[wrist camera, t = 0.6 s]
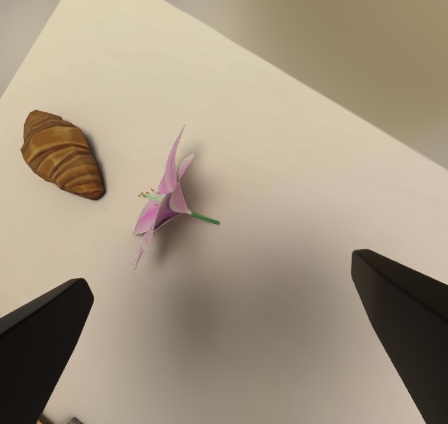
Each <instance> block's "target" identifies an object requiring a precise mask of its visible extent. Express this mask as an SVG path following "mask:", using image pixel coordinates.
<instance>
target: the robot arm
mask: <svg viewBox="0 0 448 424" xmlns="http://www.w3.org/2000/svg"><path fill="white" fill-rule="evenodd" d="M351 276H352V279H353V282H354V284H355V287H356V289H357V291H358V294H359V296H360V299H361V301H362V303H363V306H364V308H365V311H366V313H367V315H368V318H369V320H370V322H371V324H372V327H373V328H374V330H375V332H376V334H377V336H378V338H379V340H380V341H381V343H382V345H383V347H384V349H385V350H386V352H387V354H388V356H389V358H390V359H391V361H392V363H393V365H394V367H395V368H396V370H397V372H398V374H399V376H400V377H401V379H402V381H403V383H404V385H405V386H406V388H407V390H408V392H409V394H410V395H411V397H412V399H413V401H414V403H415V404H416V406H417V408H418V410H419V412H420V413H421V415H422V417H423V419H424V421H425V422H426V424H448V285H446V284H444V283H442V282H440V281H438V280H435V279H433V278H431V277H429V276H426V275H424V274H422V273H420V272H418V271H415V270H413V269H411V268H409V267H407V266H404V265H402V264H400V263H398V262H396V261H393V260H391V259H389V258H387V257H385V256H382V255H380V254H378V253H376V252H373V251H371V250H369V249H360V250H354V251H353V253H352V263H351ZM93 302H94V296H93V293H92V291H91V289H90V287H89V285H88V283H87V281H86V280H85V279H84V278H76V279H71V280H69V281H67V282H65V283H63V284H61V285H60V286H58V287H56V288H54V289H52V290H51V291H49V292H47V293H45V294H43V295H41V296H40V297H38V298H36V299H34V300H32V301H31V302H29V303H27V304H25V305H23V306H22V307H20V308H18V309H16V310H14V311H13V312H11V313H9V314H7V315H5V316H4V317H2V318H0V424H37V422H38V420H39V418H40V416H41V414H42V412H43V410H44V408H45V406H46V404H47V402H48V400H49V398H50V396H51V394H52V392H53V390H54V388H55V386H56V384H57V382H58V380H59V378H60V376H61V375H62V373H63V371H64V369H65V367H66V365H67V363H68V361H69V359H70V357H71V355H72V353H73V351H74V349H75V346H76V344H77V342H78V340H79V337H80V335H81V332H82V330H83V327H84V325H85V322H86V320H87V317H88V315H89V312H90V310H91V307H92V305H93Z"/></svg>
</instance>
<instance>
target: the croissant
mask: <svg viewBox="0 0 448 424" xmlns="http://www.w3.org/2000/svg"><path fill="white" fill-rule="evenodd" d="M23 137H24V144H23V146H22V148H21V152H22V155H23V158H24V160H25V162H26V163H27V164H28V166H29V167H30V168H31V169H32V171H33V172H34V173H36V174H37V175H38V176H40V177H41V178H43V179H44V180H45V181H47V182H51V183H55V184H56V185H57V186H58V187H59V188H60V189H61V190H64V191H67V192H70V193H73V194H76V195H78V196H82V197H85V198H88V199H91V200H97V199H98V198H100V197H102V195H103V194H104V192H105V189H104V184H103V180H102V177H101V174H100V171H99V168H98V165H97V163H96V161H95V159H94V157H93V156H92V155H91V153H90V150H89V147H88V144H87V142H86V140H85V137H84V135H83V133H82V131H81V129H79V128H78V127H76V126H75V125H73V124H72V123H69V122H65V121H63V119H62V118H61V117H60V116H57V115H53V114H50V113H46V112H42V111H38V110H34V111H32V112H30V114H29V115H28V117H27V119H26V121H25V124H24V136H23Z"/></svg>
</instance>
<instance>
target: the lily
mask: <svg viewBox="0 0 448 424" xmlns="http://www.w3.org/2000/svg"><path fill="white" fill-rule="evenodd" d="M184 126H185V125H184ZM184 126H183V128H182V130H181V131H180V133H179V135H178V137H177V139H176V141H175V142H174V145H173V147H172V149H171V151H170V153H169V157H168V160H167V163H166V170H165V173H164V176H163V177H162V179H161V182H160V184H159V187H158V190H157V194H156V193H155V194H156V196H153V195H151V194H150V193H148V192H146V193H147V194H149V195H151V196H149V195H146V194H143V193H141V195H143V196H144V195H145V196H144V198H147V196H148V199H150V198H151V199H150V200H149V201H148V202H147V203H146V205H145V206H144V208H143V210H142V212H141V214H140V216H139V218H138V221H137V223H136V226H135V229H134V232H133V234H141V233H144V232H146V233H145V235H144V236H143V239H142V241H141V244H140V247H139V250H138V253H137V257H136V260H135V264H134V269H133V273H134V271H135V268H136V266H137V263H138V261H139V259H140V257H141V254H142V252H143V251H144V252H147V251H148V250H149V247H150V243H151V239H152V235H153V234H154V233H155V232H156V231H157V230H158V229H159V228H160V227H161V226H163V225H164V224H166V223H167V222H169V221H170V220H172V219H174V218H176V217H177V216H179V215H182V214H184V213H186V214H189V215H192V216H195V217H197V218H200V219H203V220H206V221H209V222H212V223H215V224H219V223H220V222H219V221H215V220H212V219H209V218H207V217H204V216H201V215H198V214H196V213H194V212H192V211H190V210H189V209H188V208H187V205H186V203H185V199H184V196H183V193H182V189H181V186H180V182H179V180H180V178H181V177H182V175H183V173H184V172H185V170H186V169H187V167H188V166H189V164H190V163H191V161H192V159H193V158H194V156H195V154H191V155H189V156H188V157H186V158H185V159H184V160H183V161H182V162H181V164H180V165H179V168H178V178H179V180H178V183H177V179H176V168H175V159H176V150H177V146H178V143H179V140H180V137H181V134H182V132H183V129H184ZM151 190H152V192H153V191H154V190H153V189H151ZM153 193H154V192H153ZM138 196H140V195H138ZM143 196H140V197H143ZM152 196H153V197H152Z"/></svg>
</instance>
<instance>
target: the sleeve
mask: <svg viewBox="0 0 448 424" xmlns="http://www.w3.org/2000/svg"><path fill="white" fill-rule="evenodd" d="M67 424H82V423H81V422H80V421H78V420H77V419H76V418H75V417H74V418H73V419H72V420H71V421H70V422H68V423H67Z"/></svg>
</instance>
